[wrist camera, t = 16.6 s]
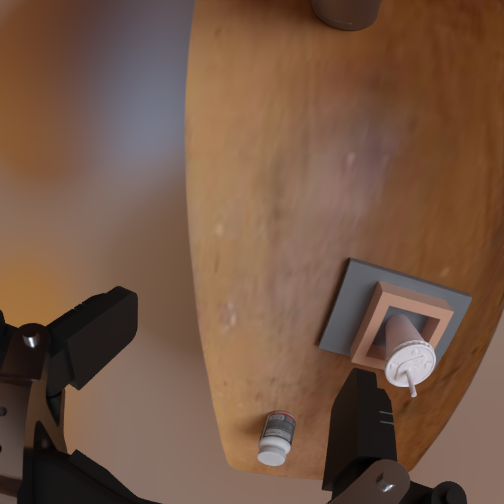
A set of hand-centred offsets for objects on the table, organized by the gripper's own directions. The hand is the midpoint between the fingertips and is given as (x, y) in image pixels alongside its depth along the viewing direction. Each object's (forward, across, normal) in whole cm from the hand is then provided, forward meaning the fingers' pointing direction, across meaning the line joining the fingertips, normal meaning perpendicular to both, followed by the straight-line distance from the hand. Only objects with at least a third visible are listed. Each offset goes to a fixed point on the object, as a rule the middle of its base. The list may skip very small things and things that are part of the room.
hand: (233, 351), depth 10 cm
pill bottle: (+29, -7, +38) cm, 49 cm away
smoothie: (+28, -17, +11) cm, 35 cm away
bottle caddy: (+30, -17, +11) cm, 36 cm away
